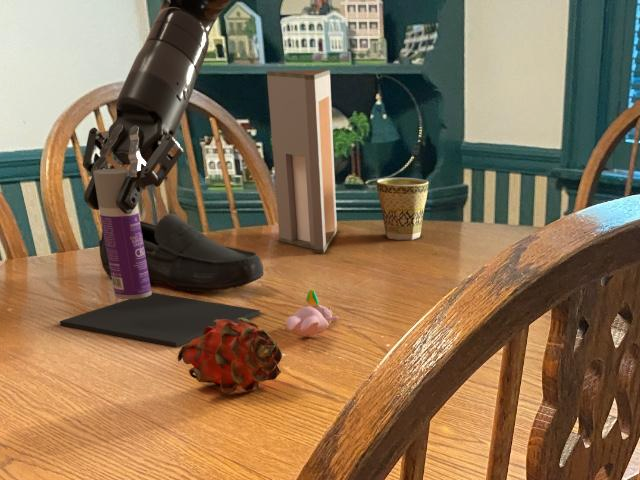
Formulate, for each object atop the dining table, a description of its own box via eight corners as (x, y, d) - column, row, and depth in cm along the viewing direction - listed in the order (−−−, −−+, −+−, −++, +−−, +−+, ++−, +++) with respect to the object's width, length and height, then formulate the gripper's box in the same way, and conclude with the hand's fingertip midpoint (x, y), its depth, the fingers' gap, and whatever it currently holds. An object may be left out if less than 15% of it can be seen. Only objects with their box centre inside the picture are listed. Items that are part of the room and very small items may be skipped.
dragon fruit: (292, 407, 103) (193, 416, 105) (298, 345, 106) (201, 355, 108) (265, 362, 95) (159, 372, 97) (272, 296, 98) (169, 308, 100)
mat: (60, 325, 123) (59, 320, 123) (151, 296, 137) (151, 292, 136) (176, 347, 116) (175, 342, 115) (260, 314, 130) (259, 309, 129)
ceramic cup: (408, 244, 172) (408, 186, 167) (367, 237, 177) (365, 181, 171) (446, 233, 182) (447, 179, 176) (405, 227, 186) (405, 174, 181)
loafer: (246, 301, 135) (239, 228, 130) (83, 282, 143) (70, 213, 137) (279, 285, 144) (273, 216, 138) (123, 268, 151) (112, 203, 146)
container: (149, 298, 119) (128, 173, 111) (112, 299, 118) (88, 173, 110) (153, 289, 123) (133, 168, 114) (117, 290, 122) (95, 168, 114)
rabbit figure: (301, 329, 128) (272, 342, 114) (300, 284, 126) (270, 293, 112) (345, 331, 128) (321, 345, 114) (344, 286, 125) (320, 295, 112)
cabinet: (323, 253, 164) (314, 75, 149) (270, 252, 164) (255, 73, 149) (337, 231, 182) (329, 69, 167) (289, 230, 182) (277, 68, 167)
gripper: (95, 66, 115) (43, 182, 112) (185, 70, 109) (132, 192, 107) (132, 110, 121) (83, 221, 119) (218, 116, 116) (169, 232, 114)
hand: (107, 207), depth 113 cm, fingers closed on container, 4 cm apart
